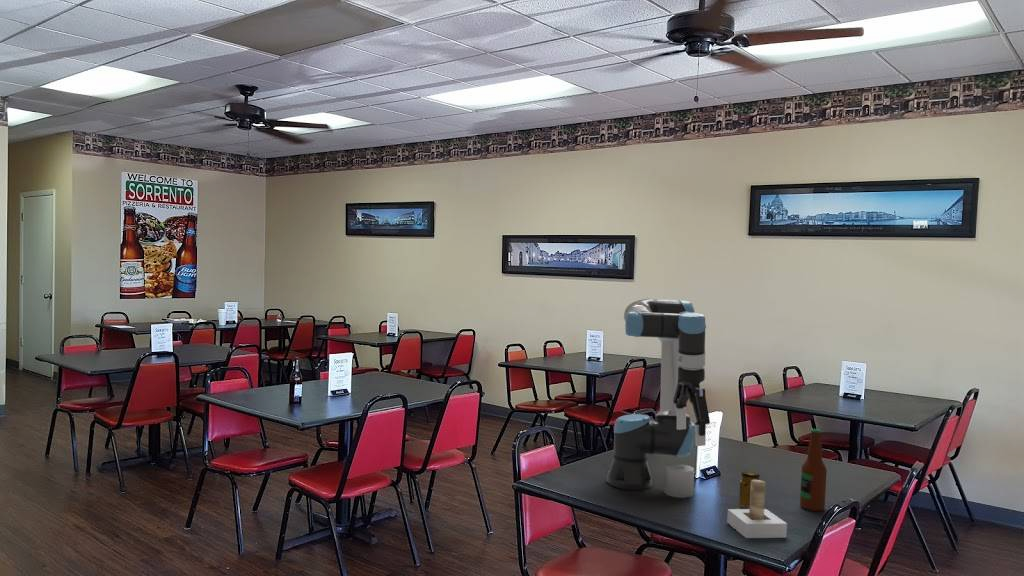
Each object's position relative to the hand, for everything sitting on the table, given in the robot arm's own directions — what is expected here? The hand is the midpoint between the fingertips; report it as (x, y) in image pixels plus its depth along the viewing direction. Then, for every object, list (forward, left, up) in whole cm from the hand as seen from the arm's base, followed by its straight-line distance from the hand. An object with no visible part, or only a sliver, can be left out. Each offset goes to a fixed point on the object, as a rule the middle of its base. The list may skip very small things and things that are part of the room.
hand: (690, 437), depth 212 cm
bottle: (-11, +46, -25) cm, 54 cm away
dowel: (+8, +18, -25) cm, 32 cm away
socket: (+8, +18, -25) cm, 32 cm away
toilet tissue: (-27, +8, -25) cm, 38 cm away
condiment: (-7, +24, -25) cm, 36 cm away
